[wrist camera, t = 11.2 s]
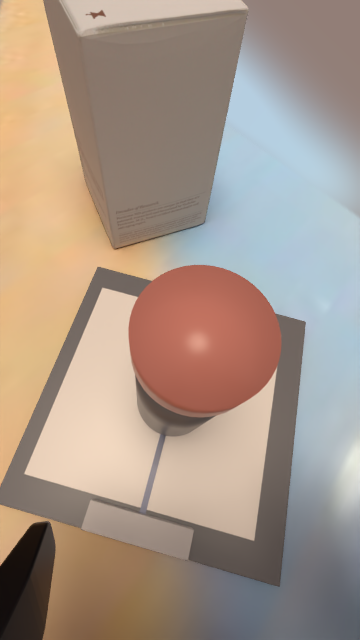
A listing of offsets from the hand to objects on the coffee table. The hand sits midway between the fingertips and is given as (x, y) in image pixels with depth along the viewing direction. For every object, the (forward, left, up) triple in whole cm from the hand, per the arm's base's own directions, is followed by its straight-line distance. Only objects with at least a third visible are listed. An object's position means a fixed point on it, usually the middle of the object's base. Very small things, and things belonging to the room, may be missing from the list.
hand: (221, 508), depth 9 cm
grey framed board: (+4, +2, -9) cm, 10 cm away
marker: (+4, +2, -8) cm, 9 cm away
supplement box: (+18, +8, -9) cm, 22 cm away
